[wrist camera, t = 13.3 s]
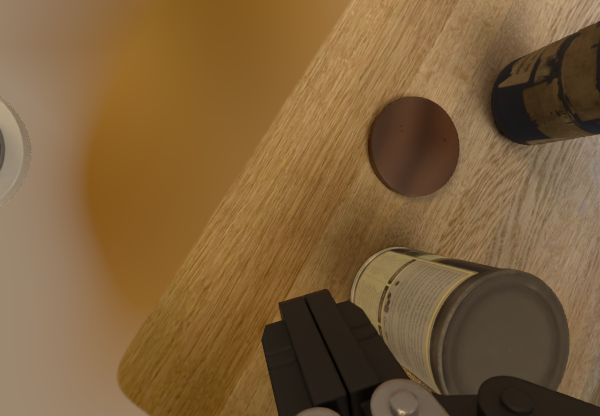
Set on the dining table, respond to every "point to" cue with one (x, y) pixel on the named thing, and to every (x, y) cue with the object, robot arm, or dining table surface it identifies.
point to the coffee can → (463, 320)
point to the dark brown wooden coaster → (413, 146)
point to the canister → (551, 91)
